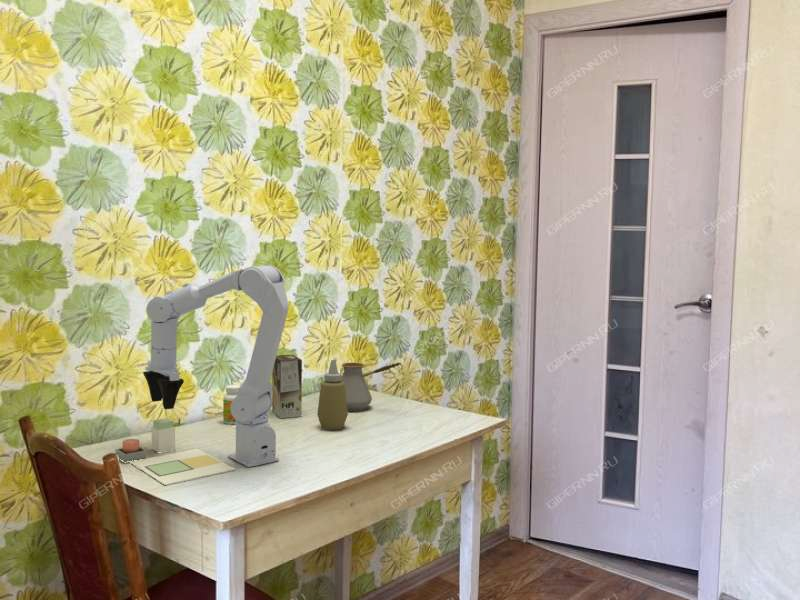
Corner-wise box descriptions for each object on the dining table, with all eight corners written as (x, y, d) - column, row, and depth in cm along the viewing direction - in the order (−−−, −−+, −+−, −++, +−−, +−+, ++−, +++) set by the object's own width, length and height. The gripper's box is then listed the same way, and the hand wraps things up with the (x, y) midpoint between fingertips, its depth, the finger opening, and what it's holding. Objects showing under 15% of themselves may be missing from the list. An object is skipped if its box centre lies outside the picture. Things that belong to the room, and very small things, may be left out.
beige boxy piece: (175, 450, 178) (175, 421, 178) (158, 453, 176) (158, 423, 175) (167, 446, 181) (167, 417, 181) (151, 449, 179) (151, 420, 178)
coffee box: (302, 416, 211) (303, 359, 209) (279, 418, 208) (280, 360, 207) (292, 409, 219) (293, 353, 218) (270, 410, 217) (271, 355, 215)
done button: (142, 452, 171) (142, 441, 171) (126, 455, 169) (126, 444, 169) (135, 448, 174) (135, 437, 174) (120, 451, 172) (120, 440, 171)
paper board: (235, 470, 165) (235, 468, 165) (164, 485, 155) (164, 484, 155) (197, 450, 179) (197, 448, 179) (129, 463, 168) (129, 461, 168)
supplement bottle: (219, 422, 203) (219, 386, 202) (232, 418, 208) (232, 383, 207) (234, 425, 200) (234, 389, 199) (248, 421, 205) (248, 385, 204)
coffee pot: (325, 409, 219) (325, 358, 218) (344, 401, 230) (345, 352, 228) (392, 419, 211) (393, 366, 209) (408, 410, 221) (410, 359, 219)
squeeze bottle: (350, 424, 205) (351, 358, 203) (344, 432, 197) (346, 363, 195) (320, 422, 205) (321, 356, 203) (314, 430, 197) (314, 362, 195)
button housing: (146, 459, 171) (146, 450, 171) (124, 463, 168) (124, 454, 168) (137, 453, 175) (137, 445, 175) (115, 457, 172) (115, 449, 172)
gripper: (135, 343, 180) (134, 399, 181) (158, 354, 168) (157, 414, 170) (165, 341, 184) (163, 396, 186) (188, 352, 173) (187, 410, 174)
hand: (162, 404), depth 178 cm, fingers open, 7 cm apart
